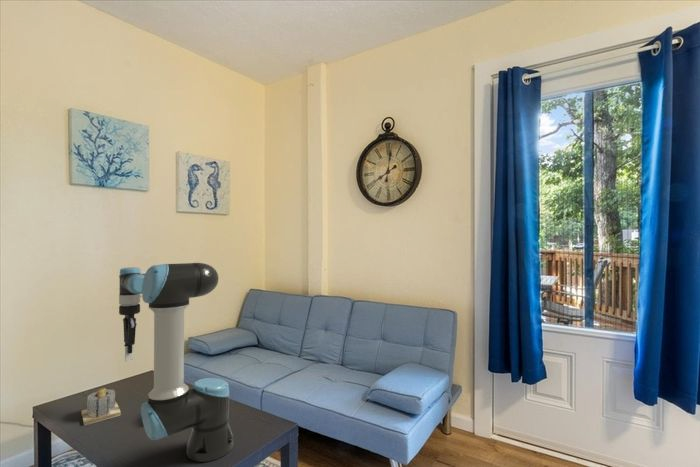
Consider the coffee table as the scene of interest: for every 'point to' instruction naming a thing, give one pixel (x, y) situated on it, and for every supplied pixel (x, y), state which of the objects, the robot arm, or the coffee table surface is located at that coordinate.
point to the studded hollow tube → (100, 404)
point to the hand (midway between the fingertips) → (129, 360)
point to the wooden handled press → (91, 420)
